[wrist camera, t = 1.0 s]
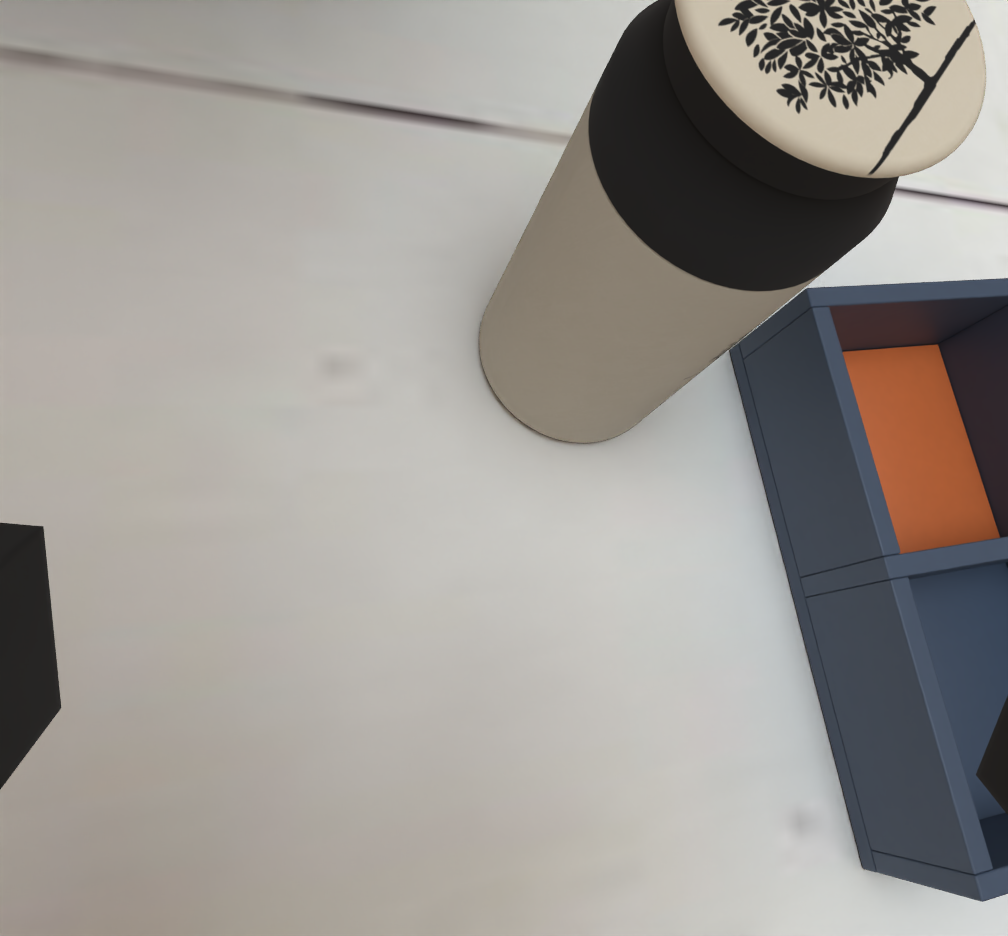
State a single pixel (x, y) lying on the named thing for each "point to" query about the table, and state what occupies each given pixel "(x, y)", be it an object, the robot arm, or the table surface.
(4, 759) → the robot arm
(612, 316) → the travel mug
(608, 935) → the table surface
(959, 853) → the divided storage bin
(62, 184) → the table surface
